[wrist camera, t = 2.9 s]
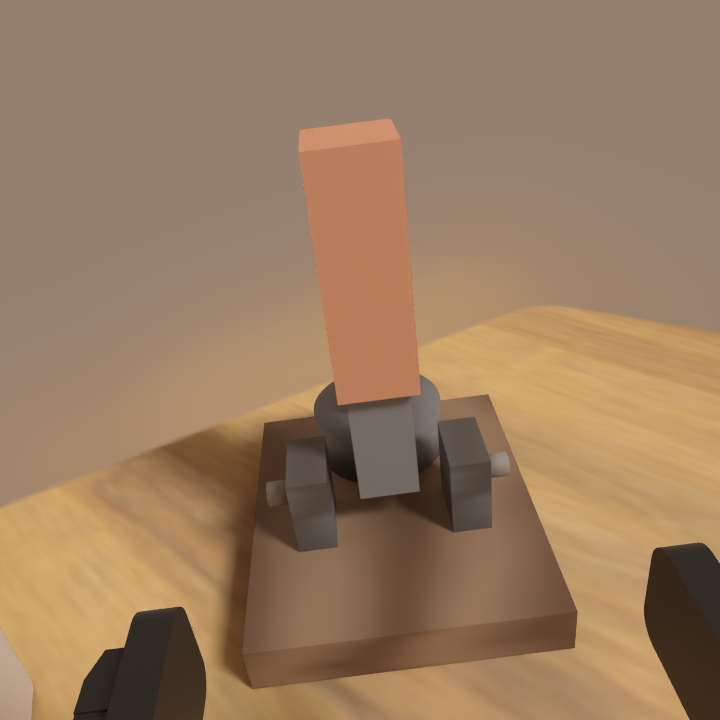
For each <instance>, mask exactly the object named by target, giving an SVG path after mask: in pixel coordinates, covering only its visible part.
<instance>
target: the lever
mask: <svg viewBox="0 0 720 720" xmlns="http://www.w3.org/2000/svg"><path fill="white" fill-rule="evenodd" d="M299 157H300V164H301V171H302V177H303V183H304V190H305V196H306V203H307V209H308V215H309V222H310V229H311V235H312V242H313V248H314V254H315V260H316V267H317V274H318V280H319V287H320V293H321V299H322V305H323V312H324V319H325V325H326V331H327V338H328V344H329V351H330V357H331V364H332V369H333V377H334V383H335V390H336V396H337V403H338V405H344V404H347V409H348V416H349V423H350V430H351V437H352V443H353V450H354V457H355V464H356V471H357V477H358V484H359V491H360V498H361V499H364V498H372V497H380V496H388V495H396V494H403V493H411V492H419V491H420V488H419V477H418V465H417V454H416V442H415V431H414V419H413V408H412V396H414V395H421V390H420V377H419V364H418V352H417V339H416V327H415V314H414V301H413V288H412V275H411V262H410V250H409V238H408V224H407V211H406V198H405V185H404V173H403V160H402V147H401V138H400V136H399V134H398V132H397V131H396V128H395V127H394V125H393V123H392V121H391V119H382V120H374V121H366V122H359V123H351V124H344V125H335V126H328V127H320V128H312V129H305V130H300V138H299Z"/></svg>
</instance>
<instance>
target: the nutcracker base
mask: <svg viewBox="0 0 720 720" xmlns="http://www.w3.org/2000/svg"><path fill="white" fill-rule="evenodd" d="M419 377H420V390H421V395H414V396H412V408H413V419H414V431H415V442H416V454H417V465H418V477H419V488H420V491H419V492H411V493H403V494H396V495H388V496H380V497H372V498H364V499H361V498H360V491H359V484H358V477H357V471H356V464H355V457H354V450H353V443H352V437H351V430H350V423H349V416H348V409H347V404H344V405H338V403H337V396H336V390H335V383H334V382H332V383H331V384H330V385H328V386H327V387H326V388H325V389H324V390H323V391H322V392H321V393H320V394H319V396H318V397H317V399H316V401H315V404H314V415H315V417H308V418H300V419H292V420H284V421H277V422H269V423H264V433H263V443H262V454H261V464H260V474H259V484H258V494H257V504H256V514H255V525H254V535H253V545H252V555H251V565H250V575H249V585H248V595H247V606H246V616H245V626H244V636H243V646H242V657H243V660H244V664H245V667H246V670H247V673H248V676H249V679H250V683H251V686H252V689H254V688H262V687H270V686H278V685H286V684H294V683H301V682H309V681H317V680H325V679H333V678H341V677H348V676H356V675H364V674H372V673H380V672H388V671H396V670H403V669H411V668H419V667H427V666H435V665H443V664H450V663H458V662H466V661H474V660H482V659H490V658H498V657H505V656H513V655H521V654H529V653H537V652H545V651H552V650H560V649H568V648H575V637H576V624H577V609H576V607H575V604H574V602H573V600H572V597H571V595H570V592H569V590H568V587H567V585H566V583H565V580H564V578H563V575H562V573H561V570H560V568H559V566H558V563H557V561H556V558H555V556H554V553H553V551H552V548H551V546H550V544H549V541H548V539H547V536H546V534H545V531H544V529H543V527H542V524H541V522H540V519H539V517H538V514H537V512H536V510H535V507H534V505H533V502H532V500H531V497H530V495H529V493H528V490H527V488H526V485H525V483H524V480H523V478H522V475H521V473H520V471H519V468H518V466H517V463H516V461H515V458H514V456H513V454H512V451H511V449H510V446H509V444H508V441H507V439H506V437H505V434H504V432H503V429H502V427H501V424H500V422H499V419H498V417H497V415H496V412H495V410H494V407H493V405H492V402H491V400H490V398H489V395H488V394H487V395H479V396H472V397H464V398H456V399H448V400H440V396H439V392H438V390H437V388H436V387H435V385H434V384H433V383H432V382H431V381H429V380H428V379H427V378H425V377H423V376H421V375H419Z"/></svg>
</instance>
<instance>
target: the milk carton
mask: <svg viewBox="0 0 720 720" xmlns="http://www.w3.org/2000/svg"><path fill="white" fill-rule="evenodd" d="M32 701H33V683H32V680H31V679H30V677H29V675H28V673H27V672H26V670H25V668H24V666H23V665H22V663H21V661H20V660H19V658H18V656H17V655H16V653H15V651H14V649H13V648H12V646H11V644H10V643H9V641H8V639H7V637H6V636H5V634H4V632H3V631H2V629H1V627H0V720H31V716H32Z"/></svg>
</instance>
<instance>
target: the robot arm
mask: <svg viewBox="0 0 720 720" xmlns="http://www.w3.org/2000/svg"><path fill="white" fill-rule="evenodd" d="M644 617H645V623H646V628H647V631H648V635H649V638H650V640H651V643H652V645H653V647H654V649H655V651H656V653H657V655H658V657H659V659H660V661H661V663H662V665H663V667H664V669H665V671H666V673H667V675H668V677H669V679H670V681H671V683H672V685H673V687H674V689H675V691H676V693H677V695H678V697H679V699H680V701H681V703H682V705H683V707H684V709H685V711H686V713H687V715H688V717H689V719H690V720H720V563H719V562H718V560H717V559H716V557H715V556H714V554H713V553H712V552H711V550H710V549H709V548H708V547H707V546H706V545H705V544H703V543H692V544H684V545H676V546H668V547H660V548H656V549H655V550H654V551H653V553H652V558H651V565H650V571H649V578H648V584H647V591H646V597H645V603H644ZM205 700H206V673H205V666H204V661H203V658H202V656H201V653H200V650H199V647H198V645H197V642H196V639H195V636H194V634H193V631H192V628H191V625H190V623H189V620H188V617H187V614H186V612H185V610H184V608H182V607H174V608H166V609H158V610H150V611H142V612H137V613H136V614H135V616H134V617H133V619H132V622H131V626H130V629H129V633H128V637H127V640H126V644H125V648H118V649H110V650H105V651H104V653H103V654H102V656H101V657H100V658H99V660H98V661H97V663H96V664H95V665H94V667H93V668H92V670H91V671H90V672H89V674H88V675H87V677H86V678H85V679H84V682H83V685H82V688H81V691H80V694H79V698H78V701H77V704H76V707H75V710H74V713H73V714H74V719H73V720H203V714H204V707H205Z"/></svg>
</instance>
